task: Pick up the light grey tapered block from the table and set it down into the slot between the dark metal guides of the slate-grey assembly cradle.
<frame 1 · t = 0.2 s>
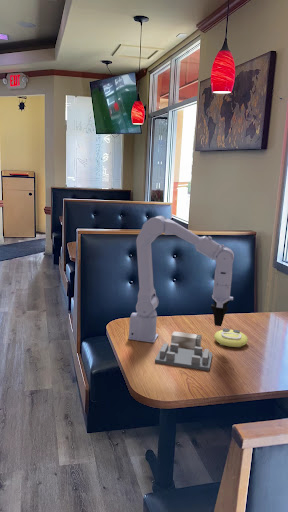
hand: (218, 322, 144), 10 cm above the table, tool pointing down, fingers open, 7 cm apart
light grey tapered block: (185, 345, 147), on the table
emoji: (230, 343, 152), on the table
cradle: (184, 358, 136), on the table
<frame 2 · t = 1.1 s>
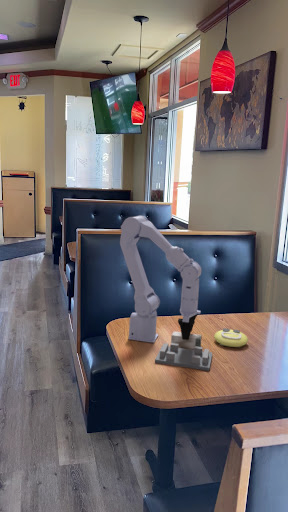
hand: (186, 335, 146), 4 cm above the table, tool pointing down, fingers open, 7 cm apart
nothing on the table moved.
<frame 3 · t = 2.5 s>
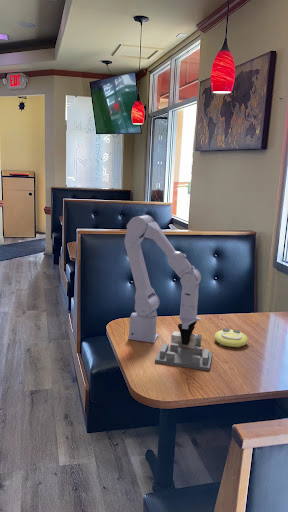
hand: (186, 342, 147), 1 cm above the table, tool pointing down, fingers closed on light grey tapered block, 4 cm apart
light grey tapered block: (185, 345, 147), on the table, touching gripper
everything else where it was.
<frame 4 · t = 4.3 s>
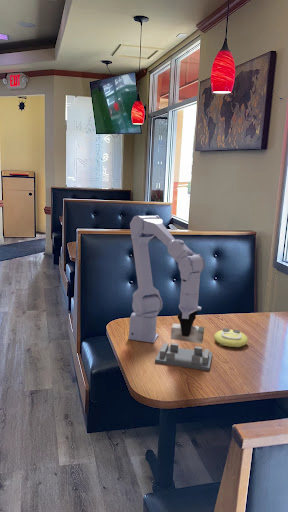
hand: (186, 333, 135), 8 cm above the table, tool pointing down, fingers closed on light grey tapered block, 4 cm apart
light grey tapered block: (187, 339, 135), point 7 cm above the table, touching gripper
everything else where it was.
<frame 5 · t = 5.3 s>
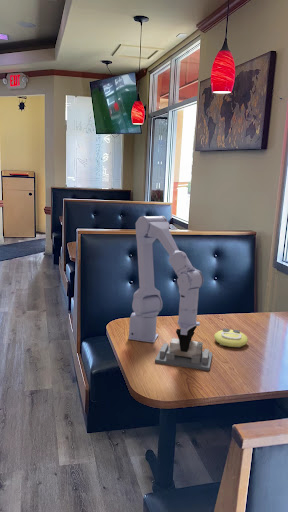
hand: (185, 348, 135), 4 cm above the table, tool pointing down, fingers closed on light grey tapered block, 4 cm apart
light grey tapered block: (185, 354, 136), point 2 cm above the table, touching gripper
everything else where it was.
when the fingers open (3 cm above the table, at t = 6.1 s): light grey tapered block stays where it is, resting on cradle.
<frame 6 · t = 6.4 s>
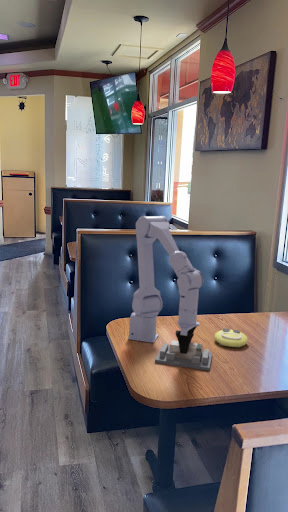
hand: (185, 348, 136), 3 cm above the table, tool pointing down, fingers open, 6 cm apart
light grey tapered block: (185, 356, 136), point 1 cm above the table, touching cradle
everything else where it was.
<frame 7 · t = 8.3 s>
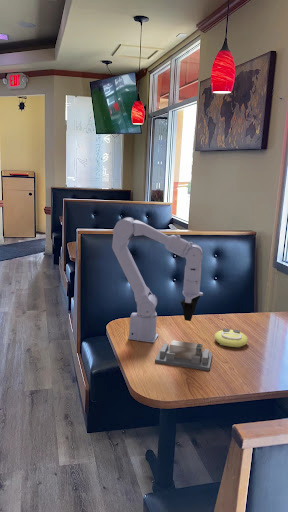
hand: (189, 317, 149), 9 cm above the table, tool pointing down, fingers open, 7 cm apart
nothing on the table moved.
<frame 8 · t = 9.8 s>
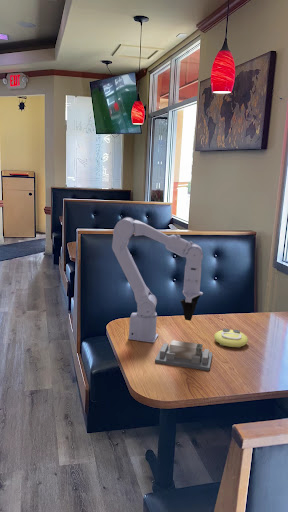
hand: (189, 316, 149), 9 cm above the table, tool pointing down, fingers open, 7 cm apart
nothing on the table moved.
at the end: light grey tapered block 0.3 cm off-centre on the cradle, point 1.0 cm above the cradle's base; light grey tapered block tilted 0°; the gripper is holding nothing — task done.
